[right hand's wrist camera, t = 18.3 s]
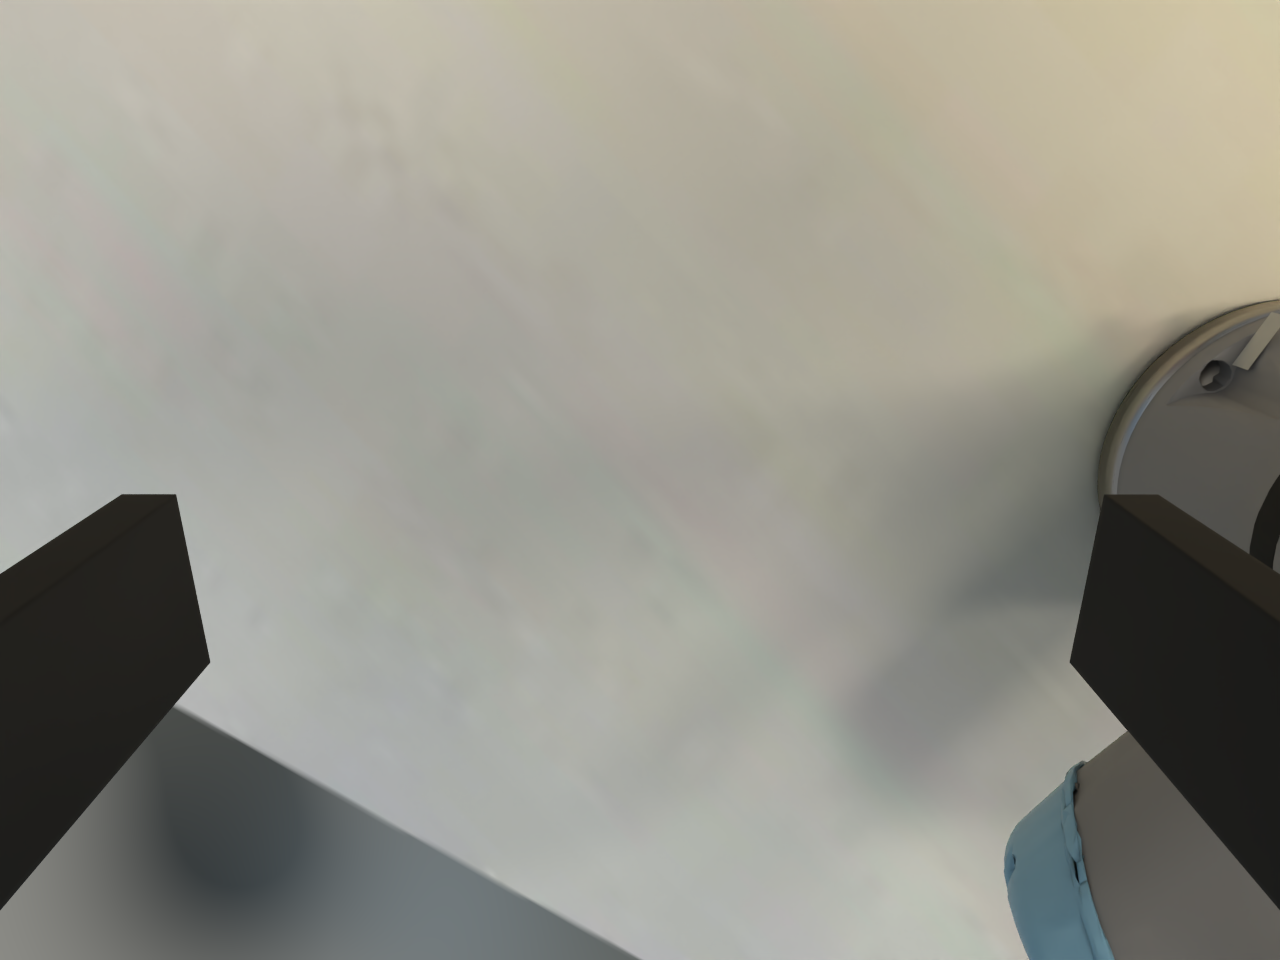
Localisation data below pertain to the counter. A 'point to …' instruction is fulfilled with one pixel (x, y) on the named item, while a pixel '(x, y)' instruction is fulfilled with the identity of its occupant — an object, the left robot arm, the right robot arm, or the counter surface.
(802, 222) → the counter surface
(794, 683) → the counter surface
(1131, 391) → the right robot arm
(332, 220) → the counter surface
